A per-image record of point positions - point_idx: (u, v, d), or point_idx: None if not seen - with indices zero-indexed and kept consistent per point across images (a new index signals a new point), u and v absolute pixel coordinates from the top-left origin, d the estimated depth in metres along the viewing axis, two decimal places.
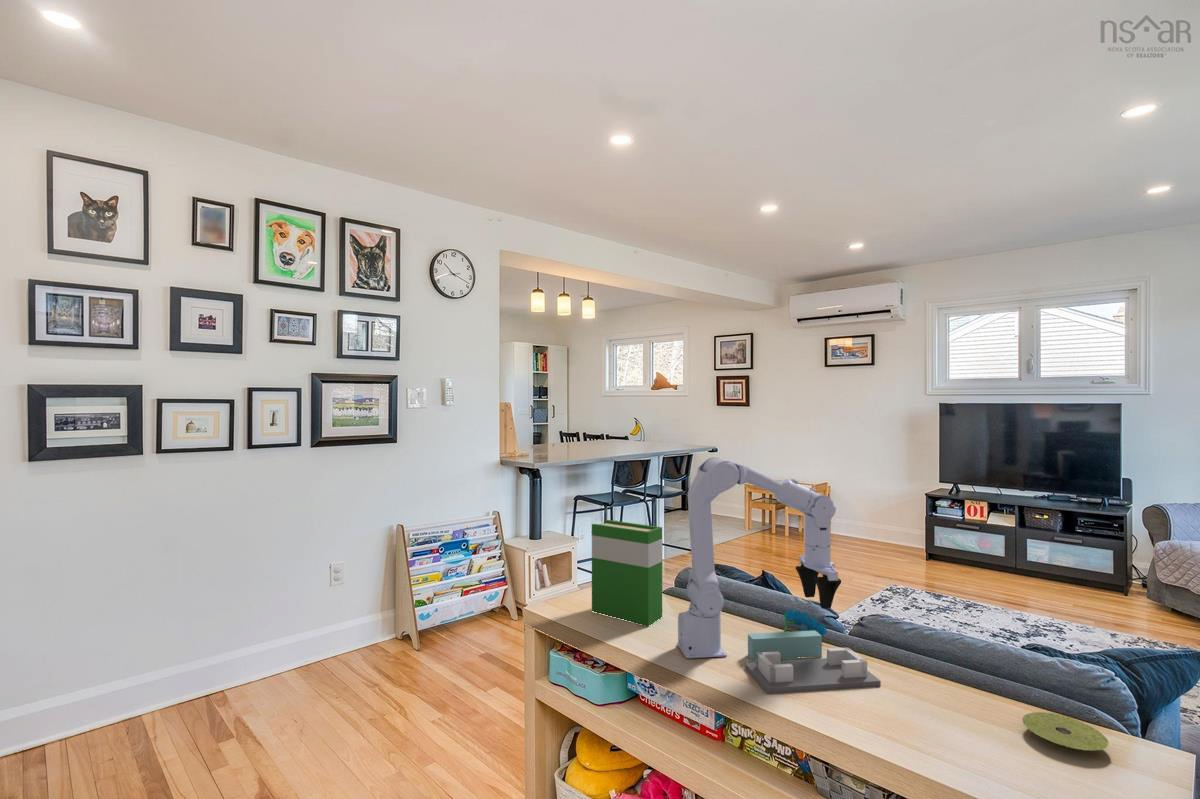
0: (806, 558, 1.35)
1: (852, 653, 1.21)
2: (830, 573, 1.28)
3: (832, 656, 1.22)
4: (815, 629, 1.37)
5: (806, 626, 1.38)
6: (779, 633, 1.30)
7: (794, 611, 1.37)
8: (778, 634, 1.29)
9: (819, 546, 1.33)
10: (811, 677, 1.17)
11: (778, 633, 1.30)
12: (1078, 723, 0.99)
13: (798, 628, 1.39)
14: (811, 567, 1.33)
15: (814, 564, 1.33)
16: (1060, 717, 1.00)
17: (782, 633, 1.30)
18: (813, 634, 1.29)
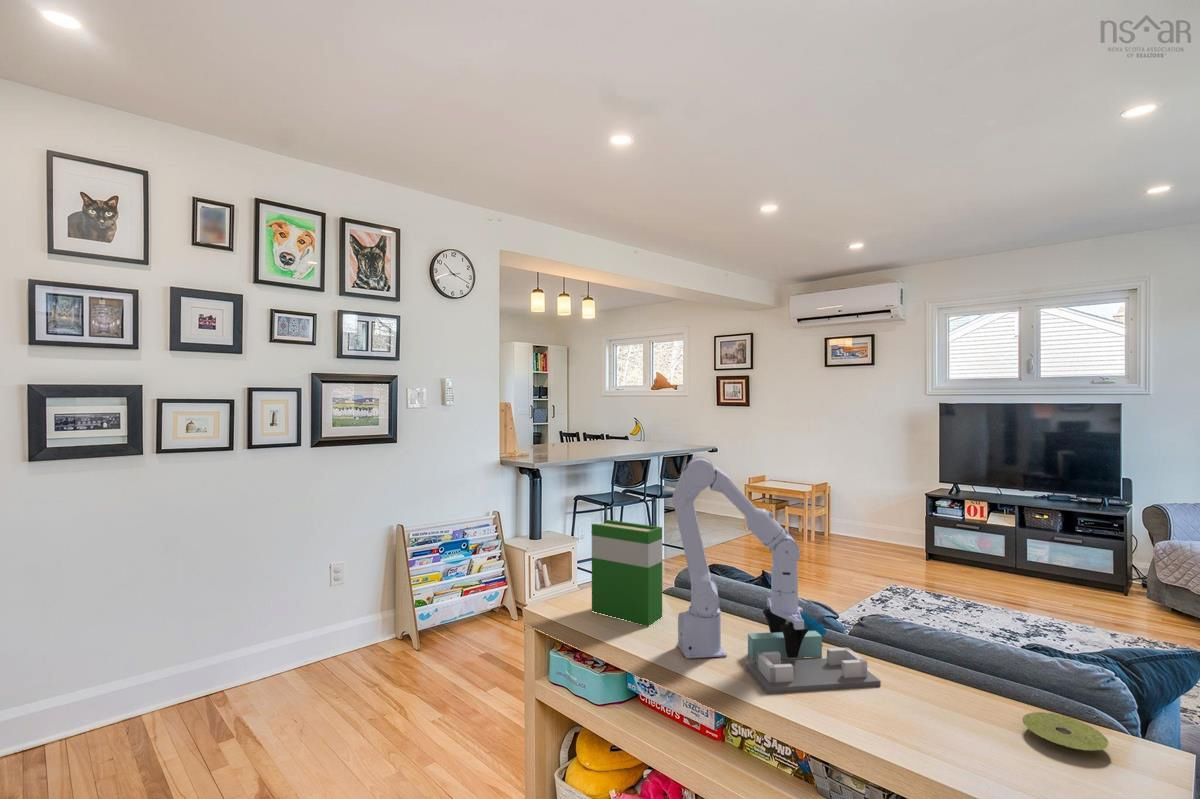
0: (772, 603, 1.29)
1: (852, 653, 1.21)
2: (796, 622, 1.22)
3: (832, 656, 1.22)
4: (815, 629, 1.37)
5: (806, 626, 1.38)
6: (779, 633, 1.30)
7: None
8: (778, 634, 1.29)
9: (782, 591, 1.27)
10: (811, 677, 1.17)
11: (778, 633, 1.30)
12: (1078, 723, 0.99)
13: None
14: (777, 613, 1.27)
15: (780, 610, 1.27)
16: (1060, 717, 1.00)
17: (782, 633, 1.30)
18: (813, 634, 1.29)
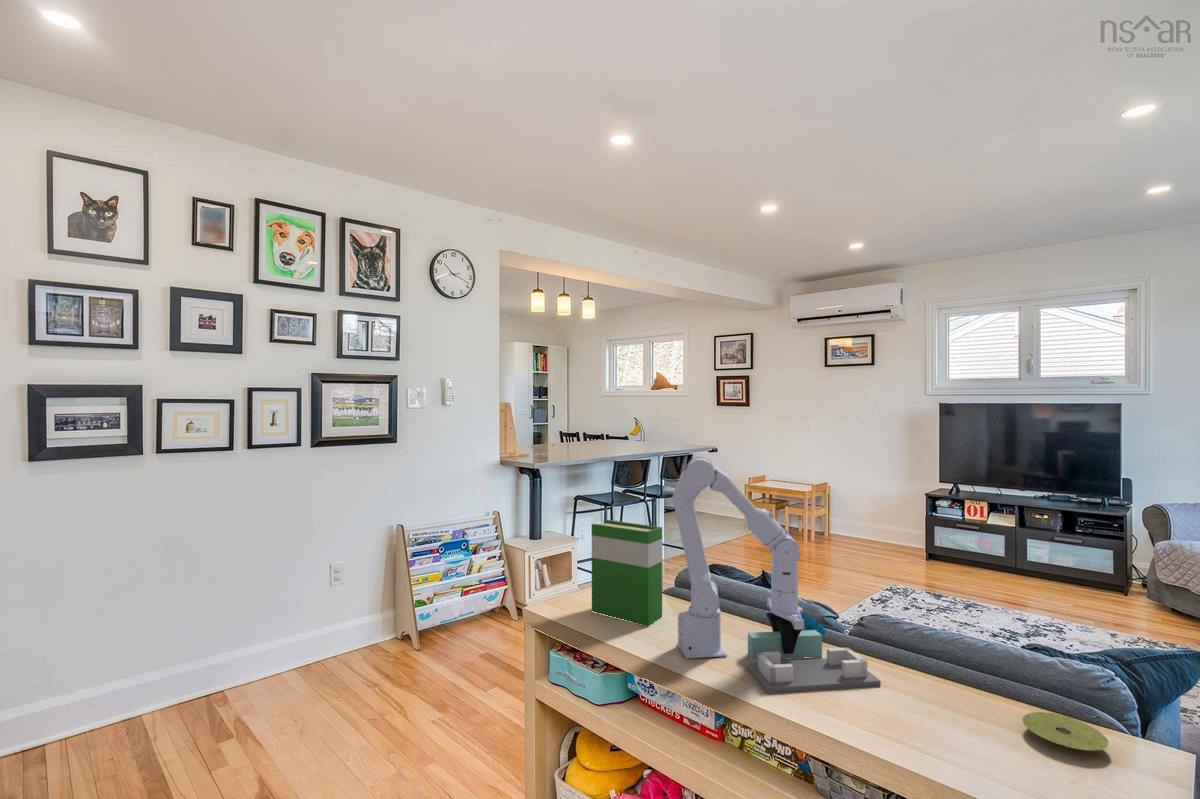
0: (772, 603, 1.29)
1: (852, 653, 1.21)
2: (796, 622, 1.22)
3: (832, 656, 1.22)
4: (814, 629, 1.37)
5: (805, 626, 1.38)
6: (779, 632, 1.30)
7: None
8: (778, 634, 1.29)
9: (782, 591, 1.27)
10: (811, 677, 1.17)
11: (778, 632, 1.30)
12: (1078, 723, 0.99)
13: None
14: (777, 613, 1.27)
15: (780, 610, 1.27)
16: (1060, 717, 1.00)
17: None
18: (813, 633, 1.29)
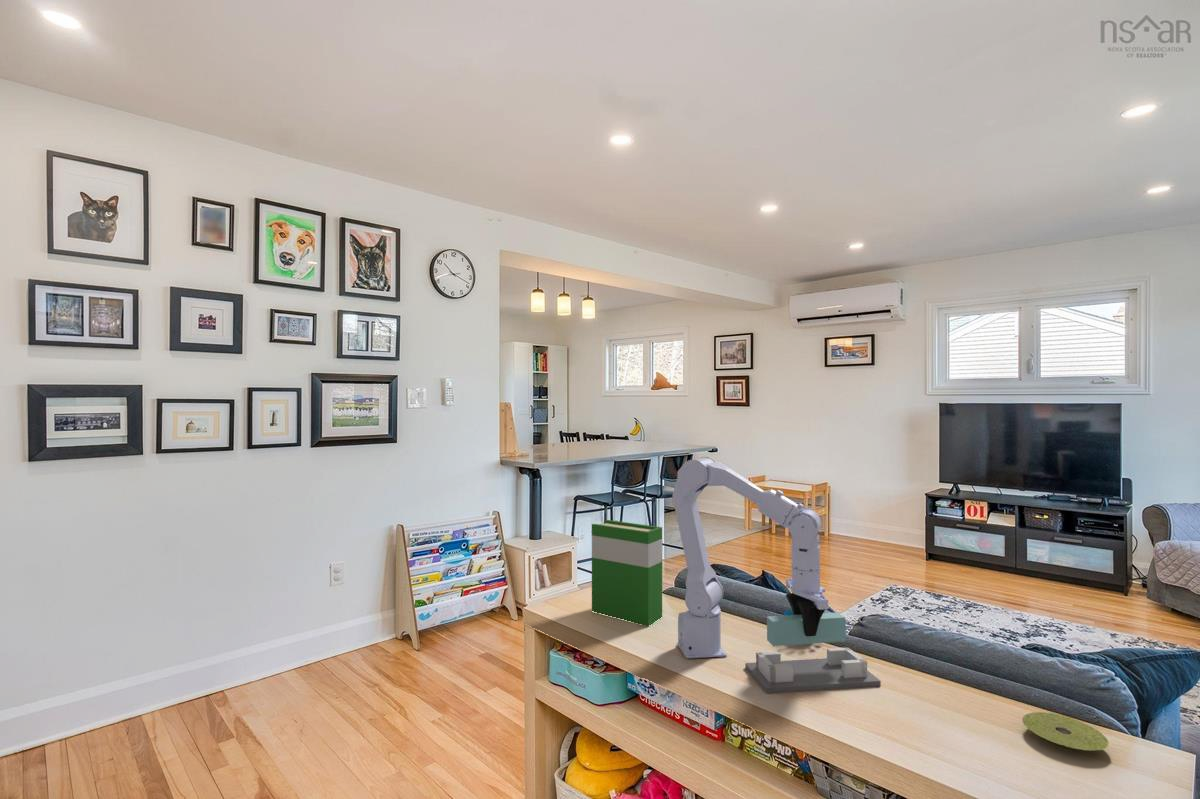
0: (793, 583, 1.21)
1: (852, 653, 1.21)
2: (819, 601, 1.14)
3: (832, 656, 1.22)
4: None
5: None
6: (800, 615, 1.22)
7: (792, 611, 1.37)
8: (799, 617, 1.21)
9: (798, 569, 1.19)
10: (811, 677, 1.17)
11: (799, 615, 1.22)
12: (1078, 723, 0.99)
13: None
14: (799, 593, 1.19)
15: (802, 590, 1.19)
16: (1060, 717, 1.00)
17: None
18: (836, 616, 1.22)
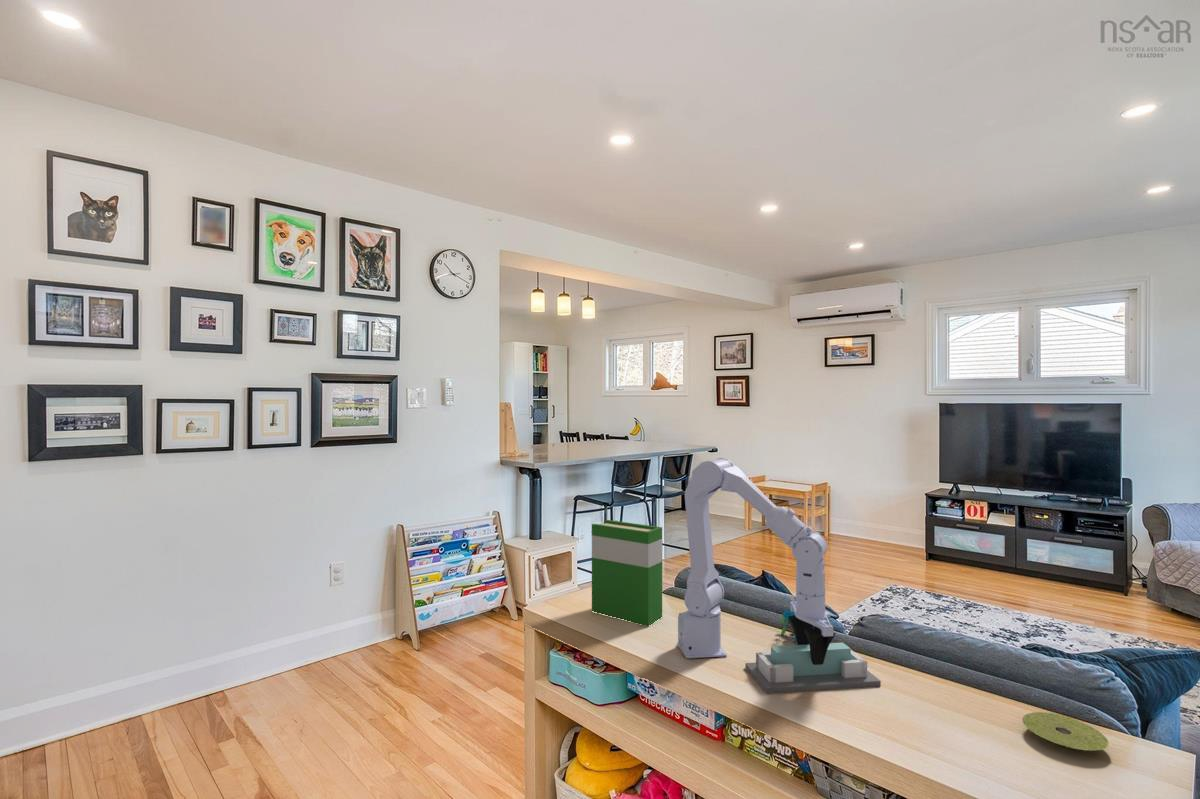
0: (798, 608, 1.19)
1: (852, 653, 1.21)
2: (824, 628, 1.12)
3: None
4: None
5: None
6: (804, 646, 1.20)
7: (791, 611, 1.37)
8: (804, 647, 1.19)
9: (802, 593, 1.18)
10: (811, 677, 1.17)
11: (803, 646, 1.20)
12: (1078, 723, 0.99)
13: None
14: (803, 619, 1.17)
15: (806, 615, 1.17)
16: (1060, 717, 1.00)
17: (808, 646, 1.20)
18: (841, 646, 1.20)
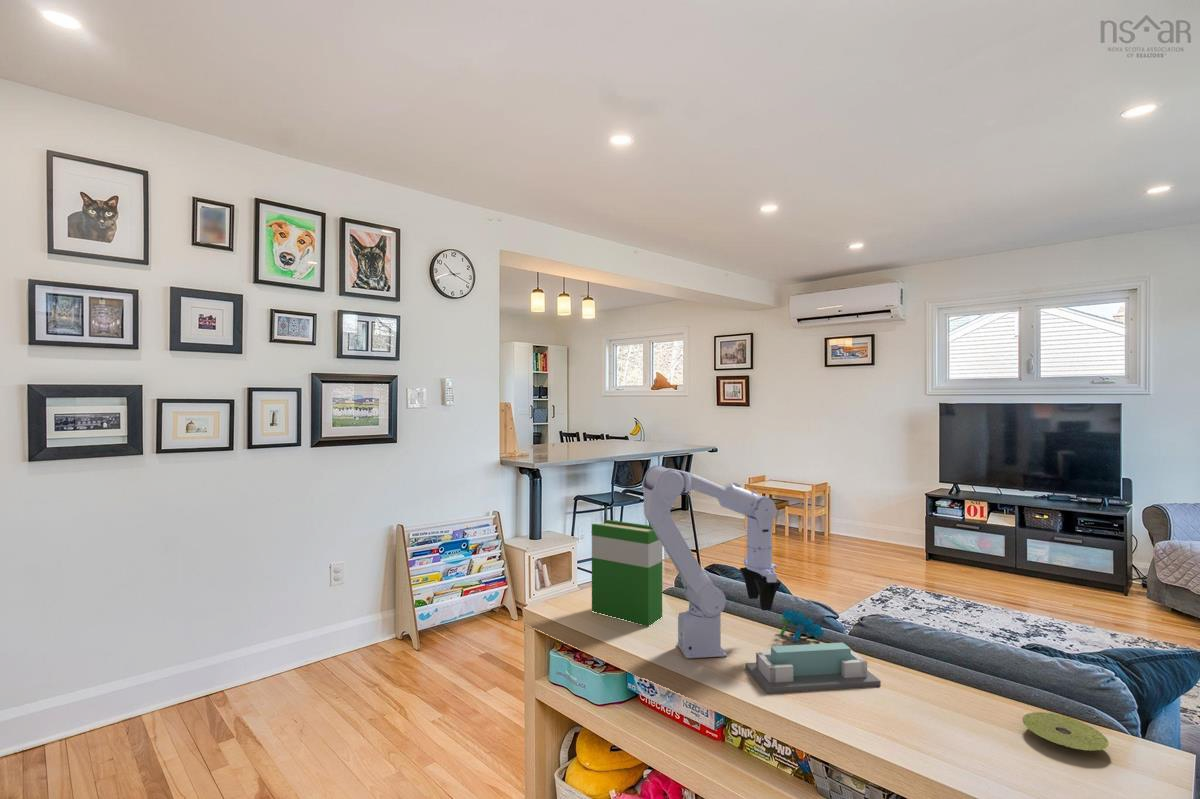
0: (748, 560, 1.35)
1: (852, 653, 1.21)
2: (768, 575, 1.28)
3: None
4: (812, 630, 1.37)
5: (803, 627, 1.37)
6: (804, 646, 1.20)
7: (790, 611, 1.37)
8: (804, 647, 1.19)
9: (762, 548, 1.33)
10: (811, 677, 1.17)
11: (803, 646, 1.20)
12: (1078, 723, 0.99)
13: (795, 628, 1.39)
14: (752, 569, 1.33)
15: (755, 566, 1.33)
16: (1060, 717, 1.00)
17: (808, 646, 1.20)
18: (841, 646, 1.20)
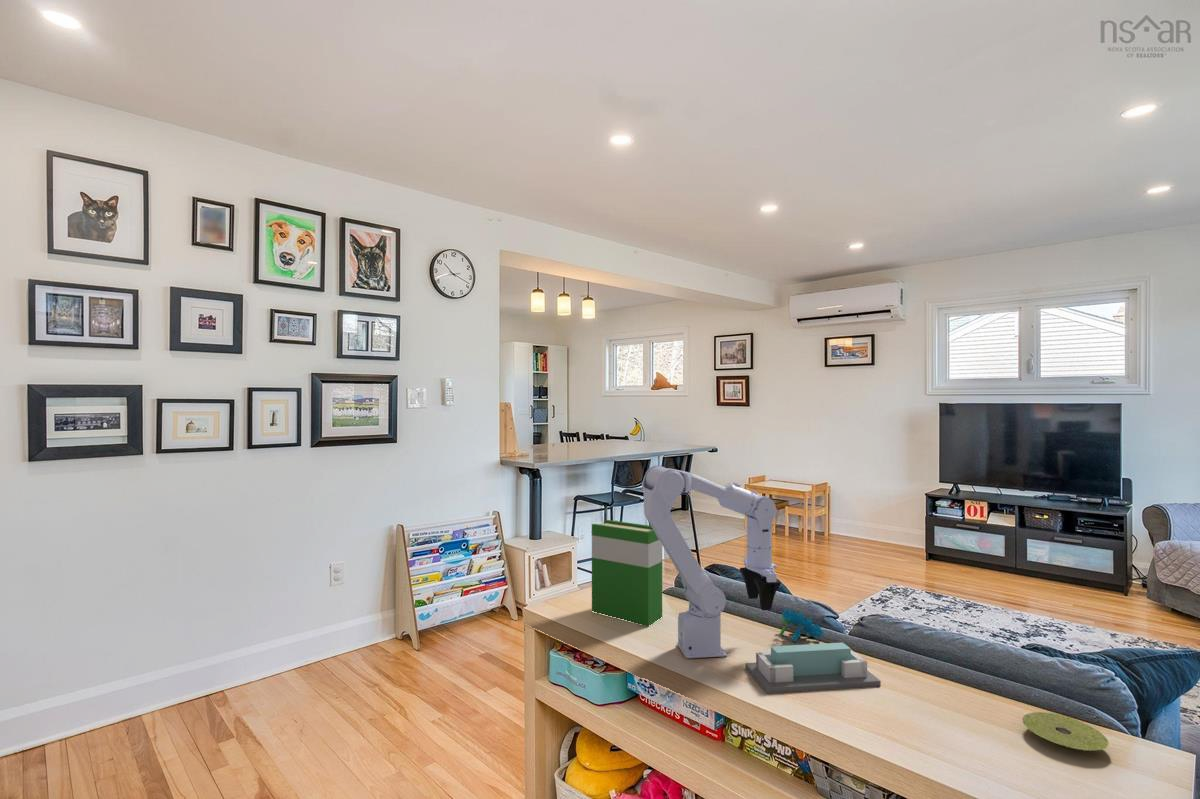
0: (748, 560, 1.35)
1: (852, 653, 1.21)
2: (768, 575, 1.29)
3: None
4: (812, 630, 1.37)
5: (802, 627, 1.37)
6: (804, 646, 1.20)
7: (790, 611, 1.37)
8: (804, 647, 1.19)
9: (761, 548, 1.33)
10: (811, 677, 1.17)
11: (803, 646, 1.20)
12: (1078, 722, 0.99)
13: (795, 628, 1.39)
14: (752, 569, 1.33)
15: (755, 566, 1.33)
16: (1060, 717, 1.00)
17: (808, 646, 1.20)
18: (841, 646, 1.20)
